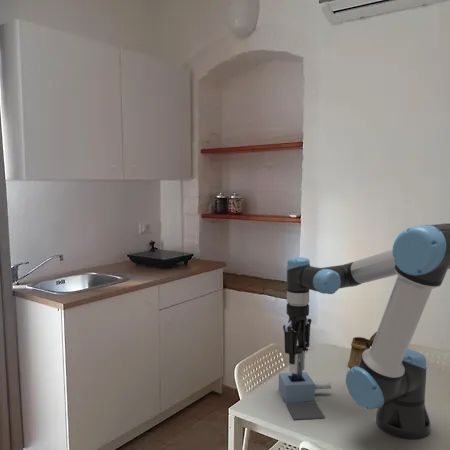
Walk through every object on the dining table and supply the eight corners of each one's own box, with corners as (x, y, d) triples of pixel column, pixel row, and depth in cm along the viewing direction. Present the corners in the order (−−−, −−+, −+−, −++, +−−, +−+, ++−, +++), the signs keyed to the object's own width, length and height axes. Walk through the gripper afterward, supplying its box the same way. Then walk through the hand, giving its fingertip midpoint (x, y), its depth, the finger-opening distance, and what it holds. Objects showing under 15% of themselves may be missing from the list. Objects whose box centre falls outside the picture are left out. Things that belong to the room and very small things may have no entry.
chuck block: (334, 400, 151) (335, 383, 150) (285, 402, 149) (285, 385, 149) (325, 387, 161) (325, 371, 160) (278, 389, 159) (278, 373, 159)
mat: (325, 418, 139) (325, 417, 139) (293, 420, 138) (293, 418, 138) (315, 403, 149) (315, 401, 149) (285, 404, 148) (285, 403, 148)
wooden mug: (375, 377, 170) (377, 330, 168) (343, 366, 179) (344, 322, 178) (386, 370, 176) (388, 325, 174) (355, 360, 186) (356, 318, 184)
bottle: (295, 378, 156) (296, 344, 155) (304, 381, 154) (304, 347, 153) (289, 381, 154) (289, 347, 153) (298, 384, 151) (298, 350, 150)
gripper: (302, 297, 160) (301, 361, 162) (273, 305, 148) (273, 374, 150) (320, 300, 155) (319, 366, 157) (292, 310, 143) (291, 381, 145)
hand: (297, 370), depth 154 cm, fingers closed on bottle, 4 cm apart
